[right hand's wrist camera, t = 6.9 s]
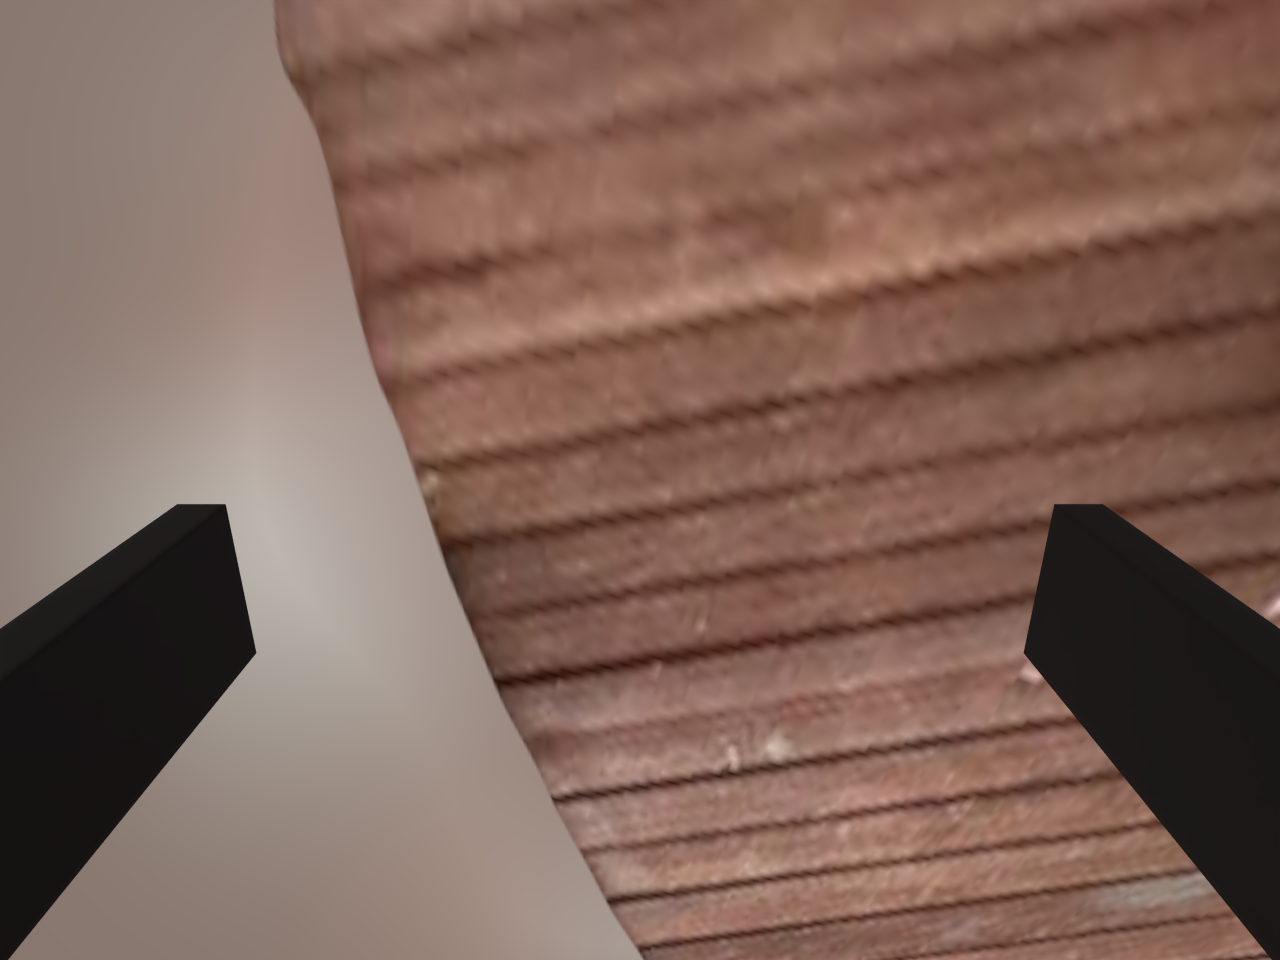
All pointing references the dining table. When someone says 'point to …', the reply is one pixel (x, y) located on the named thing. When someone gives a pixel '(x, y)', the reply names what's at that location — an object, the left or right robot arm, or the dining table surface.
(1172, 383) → the dining table surface
